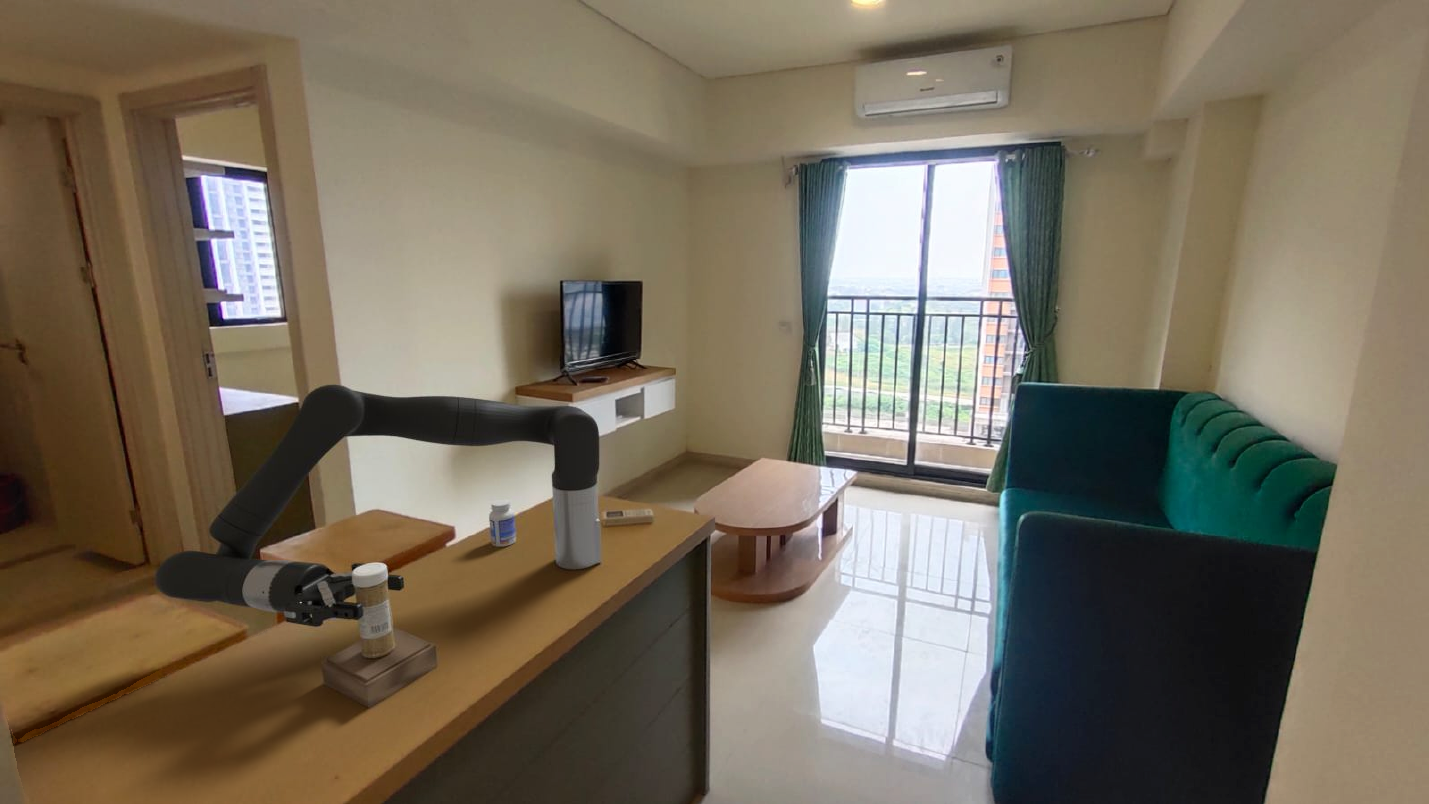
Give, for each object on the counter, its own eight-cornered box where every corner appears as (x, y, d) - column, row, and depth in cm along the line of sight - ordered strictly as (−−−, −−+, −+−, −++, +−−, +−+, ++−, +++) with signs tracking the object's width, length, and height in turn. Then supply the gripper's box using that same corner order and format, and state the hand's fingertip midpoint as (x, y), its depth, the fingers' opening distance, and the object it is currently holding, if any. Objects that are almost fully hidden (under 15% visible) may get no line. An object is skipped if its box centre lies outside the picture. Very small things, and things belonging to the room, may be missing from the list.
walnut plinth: (393, 646, 101) (390, 623, 100) (437, 666, 95) (435, 642, 95) (323, 683, 91) (320, 659, 90) (369, 708, 86) (366, 682, 85)
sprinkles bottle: (396, 639, 95) (387, 559, 93) (395, 655, 91) (386, 571, 89) (362, 646, 93) (352, 564, 91) (360, 663, 89) (349, 578, 87)
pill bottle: (519, 538, 143) (517, 498, 141) (510, 548, 138) (507, 507, 136) (497, 537, 144) (494, 497, 142) (486, 547, 138) (483, 506, 136)
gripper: (241, 586, 86) (342, 597, 83) (323, 544, 99) (412, 552, 97) (249, 634, 87) (348, 647, 84) (328, 587, 101) (416, 596, 98)
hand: (382, 596), depth 90 cm, fingers open, 8 cm apart
